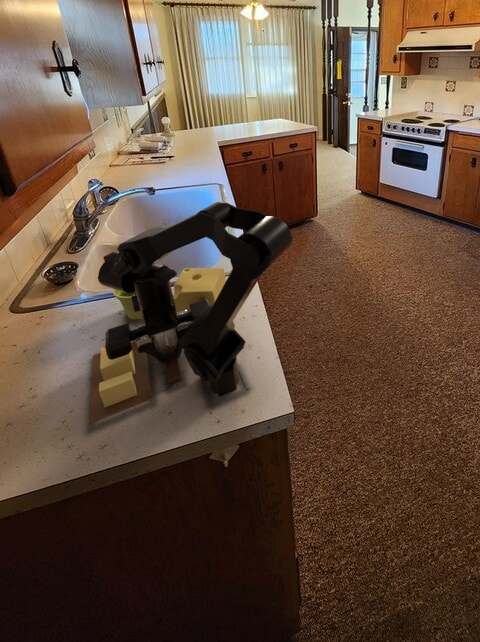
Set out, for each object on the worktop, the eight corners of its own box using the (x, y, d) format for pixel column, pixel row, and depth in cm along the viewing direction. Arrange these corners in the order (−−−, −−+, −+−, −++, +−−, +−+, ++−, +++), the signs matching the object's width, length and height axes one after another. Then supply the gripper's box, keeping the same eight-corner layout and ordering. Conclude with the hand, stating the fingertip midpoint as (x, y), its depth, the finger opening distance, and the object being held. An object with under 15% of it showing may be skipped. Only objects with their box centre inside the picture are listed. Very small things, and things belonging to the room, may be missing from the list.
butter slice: (136, 395, 63) (131, 379, 62) (104, 407, 61) (98, 391, 59) (136, 386, 65) (131, 371, 63) (104, 399, 63) (99, 382, 61)
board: (153, 403, 63) (151, 398, 63) (91, 429, 59) (89, 424, 58) (145, 342, 77) (144, 338, 76) (94, 359, 72) (93, 355, 72)
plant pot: (171, 304, 88) (165, 275, 85) (147, 330, 80) (139, 299, 77) (139, 299, 90) (131, 271, 87) (112, 324, 82) (102, 294, 78)
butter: (135, 373, 68) (130, 358, 66) (105, 384, 65) (99, 369, 64) (133, 353, 72) (129, 338, 71) (105, 362, 70) (100, 347, 69)
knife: (183, 384, 67) (181, 374, 65) (170, 389, 66) (167, 379, 64) (168, 319, 81) (166, 309, 79) (157, 323, 80) (155, 313, 78)
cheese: (173, 327, 81) (165, 292, 77) (190, 298, 91) (184, 265, 87) (218, 327, 81) (213, 292, 77) (230, 298, 91) (225, 265, 87)
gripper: (199, 262, 75) (209, 319, 81) (97, 288, 66) (117, 350, 73) (211, 289, 66) (221, 352, 72) (95, 323, 57) (118, 391, 64)
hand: (170, 359), depth 70 cm, fingers closed on knife, 2 cm apart
